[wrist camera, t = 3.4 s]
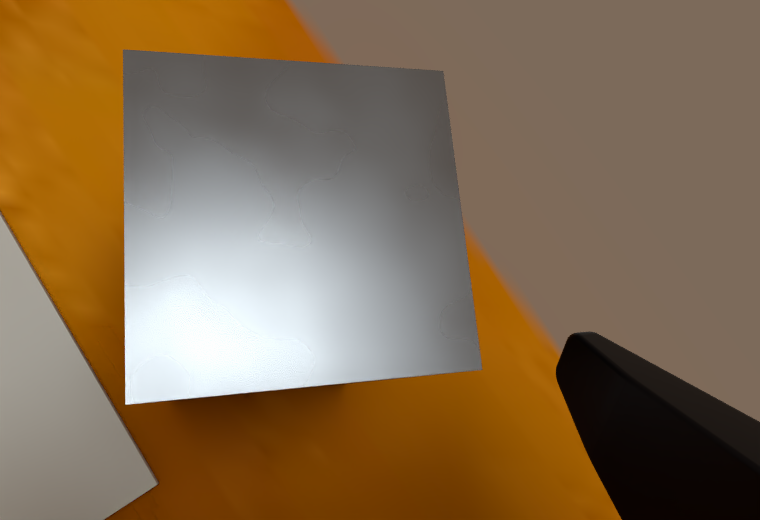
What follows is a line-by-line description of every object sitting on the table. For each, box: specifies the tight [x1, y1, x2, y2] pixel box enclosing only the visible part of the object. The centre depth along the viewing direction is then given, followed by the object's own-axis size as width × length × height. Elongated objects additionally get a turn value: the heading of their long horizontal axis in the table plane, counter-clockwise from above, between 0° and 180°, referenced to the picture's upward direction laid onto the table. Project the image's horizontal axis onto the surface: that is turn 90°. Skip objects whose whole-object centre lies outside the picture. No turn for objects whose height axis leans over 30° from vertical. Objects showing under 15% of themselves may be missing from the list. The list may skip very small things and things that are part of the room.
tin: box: [123, 50, 482, 405], centre depth 14 cm, size 5×5×10 cm
